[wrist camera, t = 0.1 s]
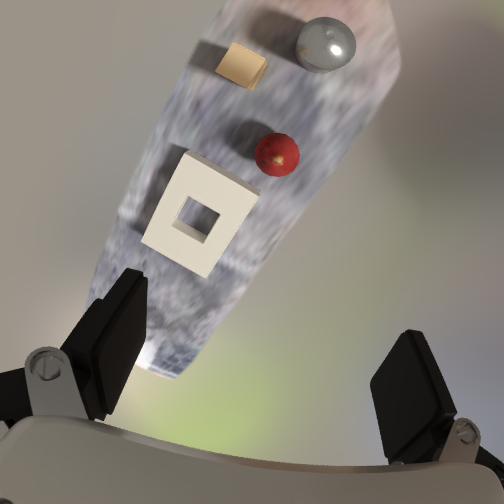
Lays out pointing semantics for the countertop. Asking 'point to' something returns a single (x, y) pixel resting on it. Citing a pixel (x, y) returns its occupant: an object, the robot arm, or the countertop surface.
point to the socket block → (211, 195)
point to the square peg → (242, 66)
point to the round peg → (325, 45)
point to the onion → (277, 154)
